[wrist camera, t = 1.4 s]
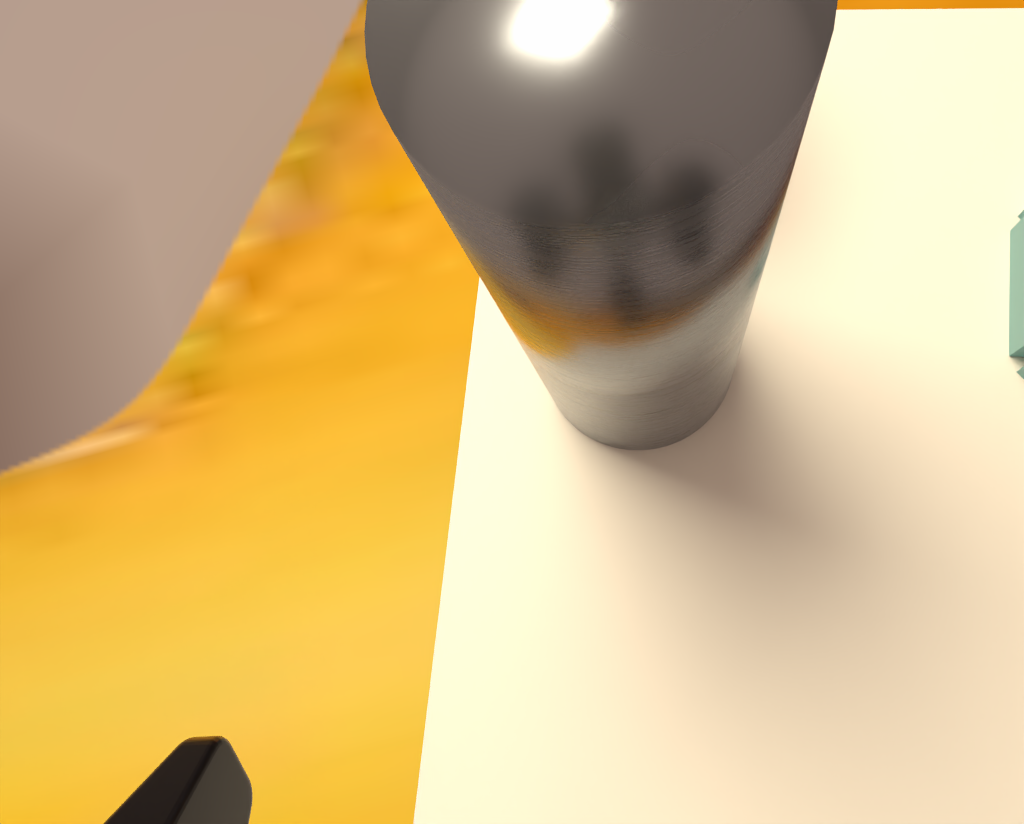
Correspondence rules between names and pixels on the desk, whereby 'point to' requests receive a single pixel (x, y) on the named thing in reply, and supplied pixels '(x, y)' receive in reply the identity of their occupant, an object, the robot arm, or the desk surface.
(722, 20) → the shiny metal cylinder
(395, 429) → the desk surface
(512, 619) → the board
